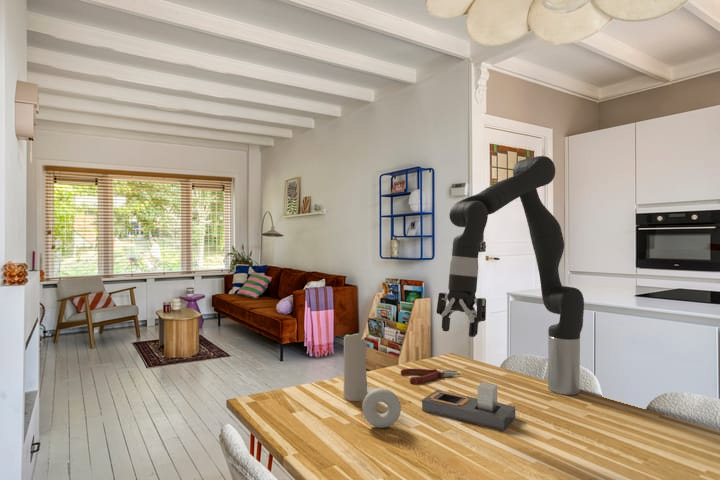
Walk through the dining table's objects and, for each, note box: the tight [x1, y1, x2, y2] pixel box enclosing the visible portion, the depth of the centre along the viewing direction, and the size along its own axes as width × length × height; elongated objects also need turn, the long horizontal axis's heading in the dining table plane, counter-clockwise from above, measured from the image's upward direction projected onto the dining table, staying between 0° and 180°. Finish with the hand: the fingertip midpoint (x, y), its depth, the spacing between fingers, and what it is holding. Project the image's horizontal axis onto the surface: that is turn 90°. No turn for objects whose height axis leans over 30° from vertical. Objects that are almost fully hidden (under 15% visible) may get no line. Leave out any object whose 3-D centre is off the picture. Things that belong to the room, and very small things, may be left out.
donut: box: [361, 387, 402, 429], centre depth 115 cm, size 10×4×10 cm, turn 86°
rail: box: [421, 389, 516, 432], centre depth 124 cm, size 10×23×3 cm, turn 55°
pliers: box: [400, 367, 461, 385], centre depth 156 cm, size 11×20×3 cm, turn 104°
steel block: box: [477, 381, 498, 413], centre depth 121 cm, size 4×4×9 cm
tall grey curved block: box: [343, 333, 378, 402], centre depth 139 cm, size 7×14×20 cm, turn 148°
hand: (458, 333), depth 121 cm, fingers open, 8 cm apart
